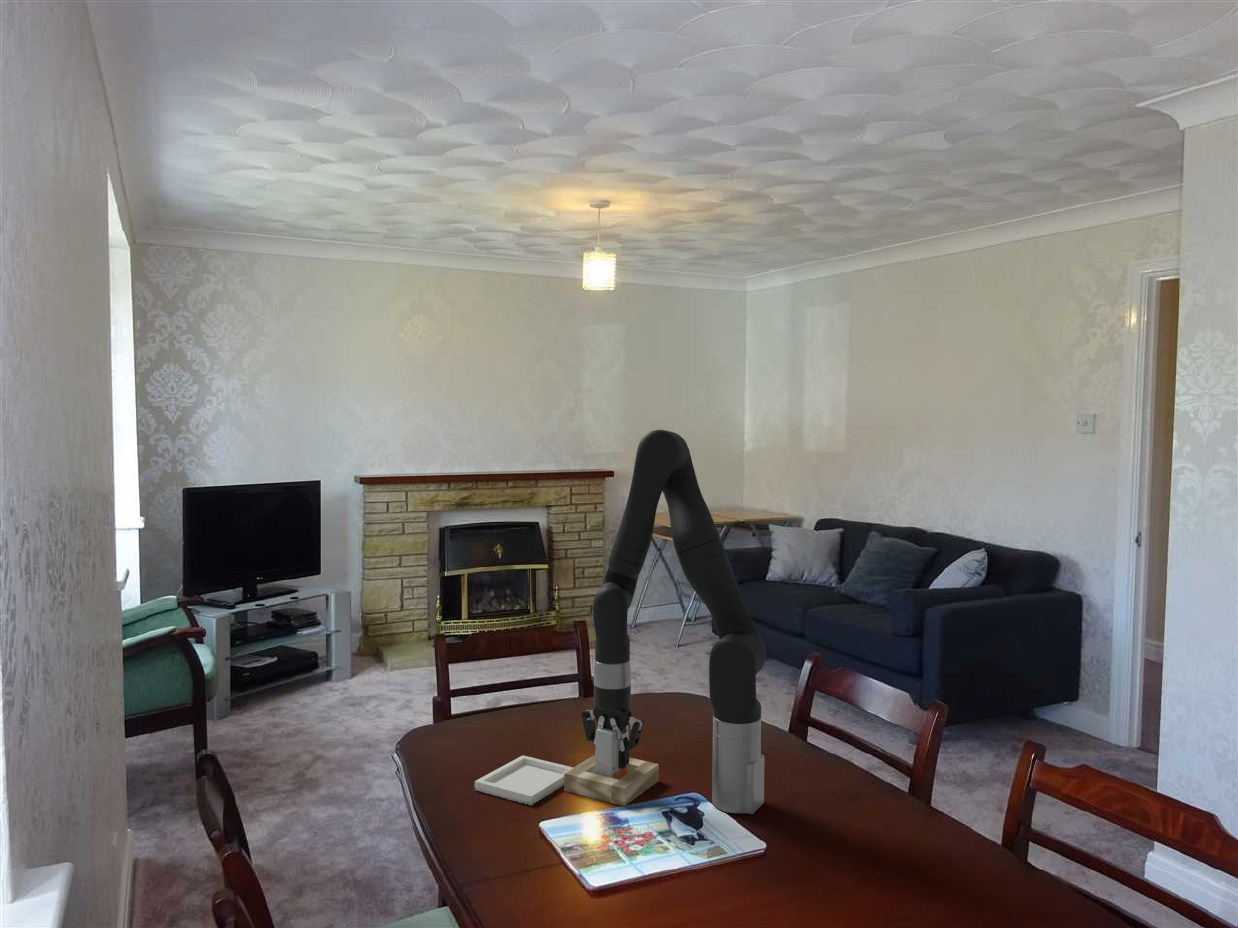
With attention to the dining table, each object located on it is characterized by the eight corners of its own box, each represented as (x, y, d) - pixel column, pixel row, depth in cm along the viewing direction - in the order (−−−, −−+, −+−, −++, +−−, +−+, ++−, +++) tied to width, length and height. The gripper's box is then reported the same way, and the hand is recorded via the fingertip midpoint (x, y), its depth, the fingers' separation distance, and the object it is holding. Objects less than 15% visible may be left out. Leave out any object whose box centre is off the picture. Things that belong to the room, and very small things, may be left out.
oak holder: (658, 780, 180) (658, 764, 180) (624, 806, 168) (624, 788, 168) (600, 766, 187) (600, 750, 187) (564, 790, 175) (564, 773, 175)
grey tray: (576, 776, 182) (576, 768, 182) (531, 805, 168) (531, 796, 168) (522, 763, 189) (522, 755, 189) (474, 789, 175) (474, 781, 175)
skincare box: (611, 793, 174) (611, 733, 173) (594, 787, 176) (594, 729, 176) (629, 783, 179) (629, 725, 178) (612, 778, 181) (613, 721, 181)
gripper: (652, 682, 176) (651, 765, 177) (592, 672, 183) (592, 752, 184) (634, 692, 170) (633, 778, 171) (572, 681, 177) (572, 764, 178)
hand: (612, 764), depth 177 cm, fingers closed on skincare box, 4 cm apart
